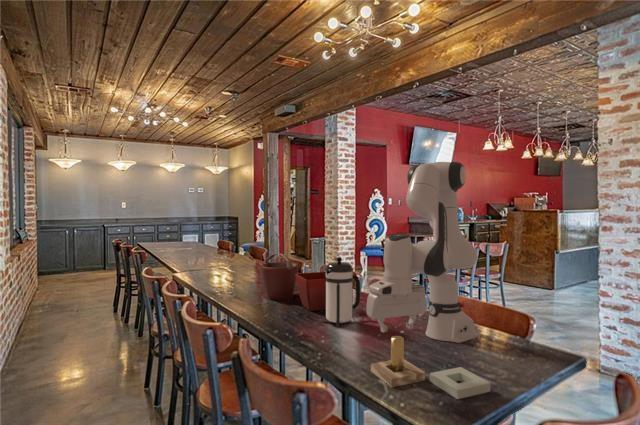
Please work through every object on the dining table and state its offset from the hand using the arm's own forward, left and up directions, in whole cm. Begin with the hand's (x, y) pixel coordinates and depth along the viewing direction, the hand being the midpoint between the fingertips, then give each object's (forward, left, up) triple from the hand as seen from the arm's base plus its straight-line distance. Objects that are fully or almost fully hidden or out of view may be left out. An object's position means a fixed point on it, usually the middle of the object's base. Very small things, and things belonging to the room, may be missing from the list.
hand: (396, 330), depth 123 cm
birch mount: (0, 0, -15) cm, 15 cm away
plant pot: (-8, -86, -15) cm, 88 cm away
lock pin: (0, 0, -15) cm, 15 cm away
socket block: (-13, +13, -15) cm, 23 cm away
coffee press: (-8, -58, -15) cm, 61 cm away
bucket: (+3, -117, -15) cm, 118 cm away
